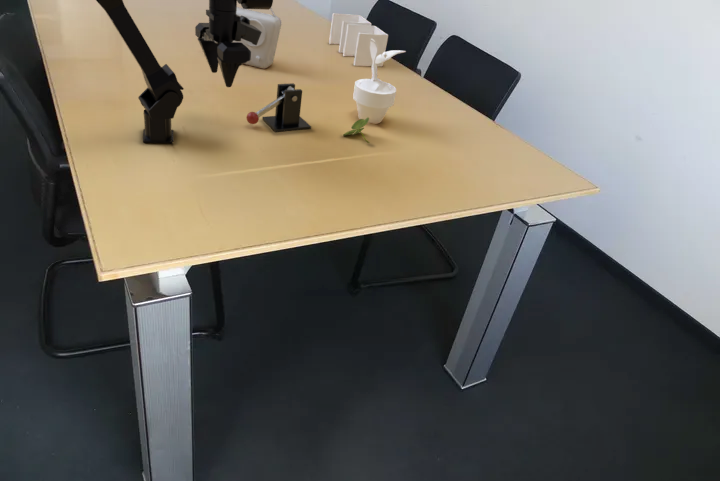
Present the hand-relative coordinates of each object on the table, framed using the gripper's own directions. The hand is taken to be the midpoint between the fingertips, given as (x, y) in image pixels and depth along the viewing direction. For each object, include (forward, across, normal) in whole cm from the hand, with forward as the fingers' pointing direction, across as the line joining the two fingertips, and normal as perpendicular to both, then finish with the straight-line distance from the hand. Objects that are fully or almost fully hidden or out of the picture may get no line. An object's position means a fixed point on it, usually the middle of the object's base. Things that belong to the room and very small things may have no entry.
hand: (221, 79), depth 129 cm
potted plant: (+13, -1, -43) cm, 45 cm away
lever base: (+13, 0, -18) cm, 22 cm away
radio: (+13, +49, -25) cm, 57 cm away
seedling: (+13, -11, -32) cm, 37 cm away
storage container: (+13, +54, -71) cm, 90 cm away
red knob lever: (+9, 0, -14) cm, 16 cm away
